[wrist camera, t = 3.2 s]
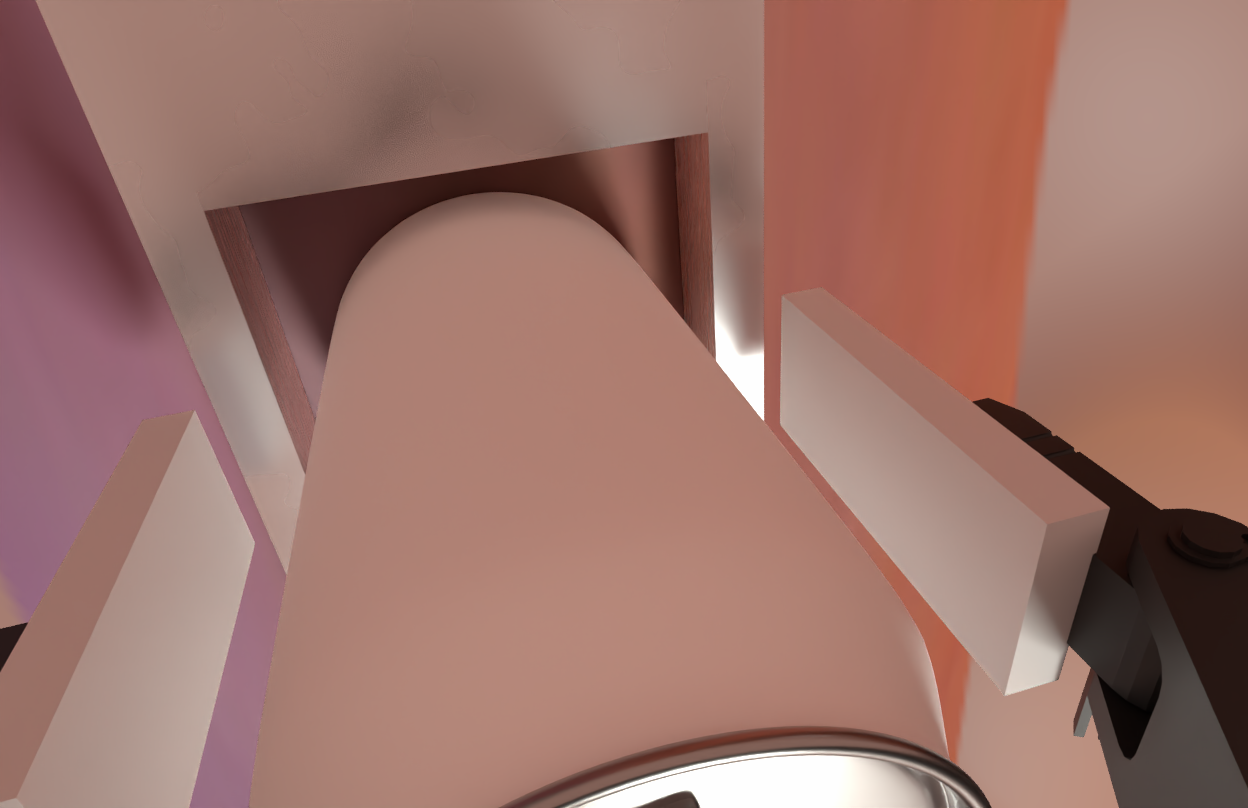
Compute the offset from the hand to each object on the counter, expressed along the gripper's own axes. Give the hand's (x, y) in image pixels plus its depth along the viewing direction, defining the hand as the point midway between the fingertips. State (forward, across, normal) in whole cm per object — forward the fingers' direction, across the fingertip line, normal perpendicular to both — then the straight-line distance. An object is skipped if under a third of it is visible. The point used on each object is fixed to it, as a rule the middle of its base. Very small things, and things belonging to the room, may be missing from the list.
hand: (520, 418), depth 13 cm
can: (+3, 0, 0) cm, 3 cm away
